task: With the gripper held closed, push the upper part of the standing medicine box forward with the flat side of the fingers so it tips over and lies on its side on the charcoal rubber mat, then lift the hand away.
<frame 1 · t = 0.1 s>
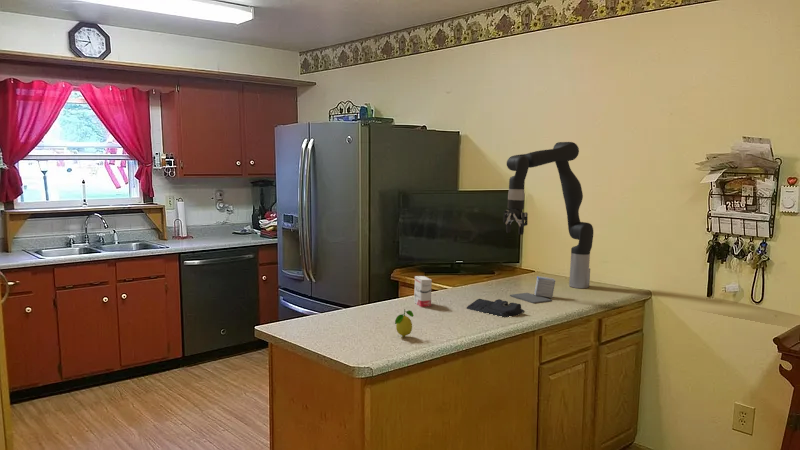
hand: (514, 233, 269), 29 cm above the counter, tool pointing down, fingers open, 8 cm apart
ink box: (422, 304, 249), on the counter
lemon: (404, 337, 201), on the counter
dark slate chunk: (495, 311, 242), on the counter
medicine box: (543, 296, 269), on the counter, touching mat
mat: (530, 298, 265), on the counter
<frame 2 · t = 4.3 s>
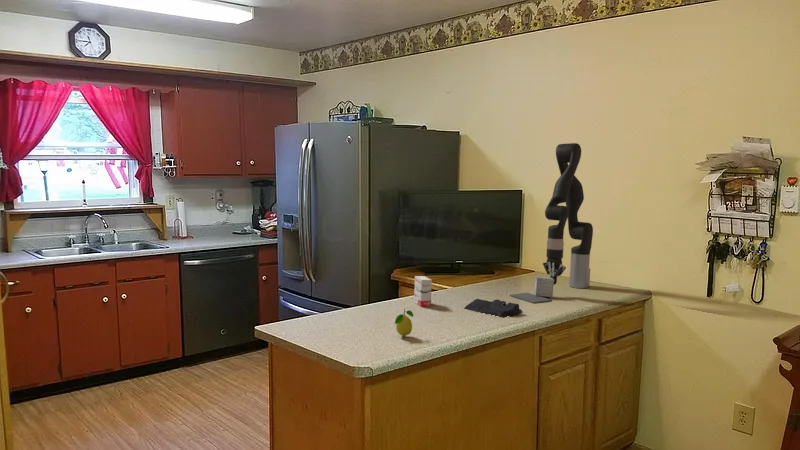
hand: (553, 284, 272), 6 cm above the counter, tool pointing down, fingers closed
medicine box: (543, 296, 269), on the counter, touching mat
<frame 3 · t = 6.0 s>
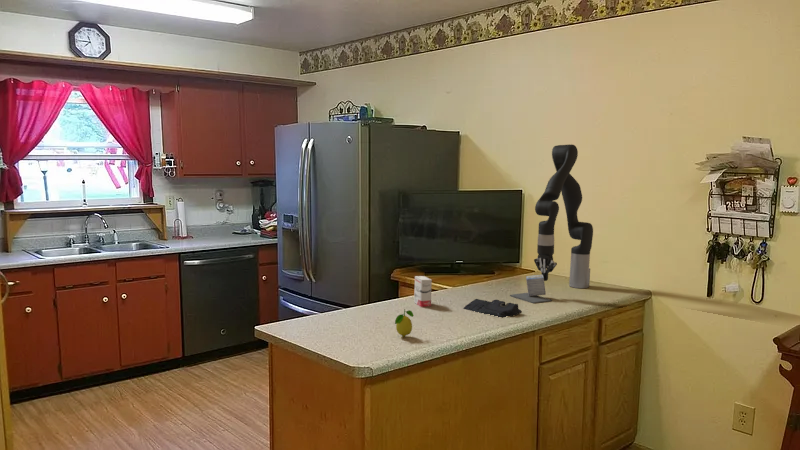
hand: (544, 280, 268), 8 cm above the counter, tool pointing down, fingers closed
medicine box: (537, 294, 268), point 1 cm above the counter, touching gripper, mat
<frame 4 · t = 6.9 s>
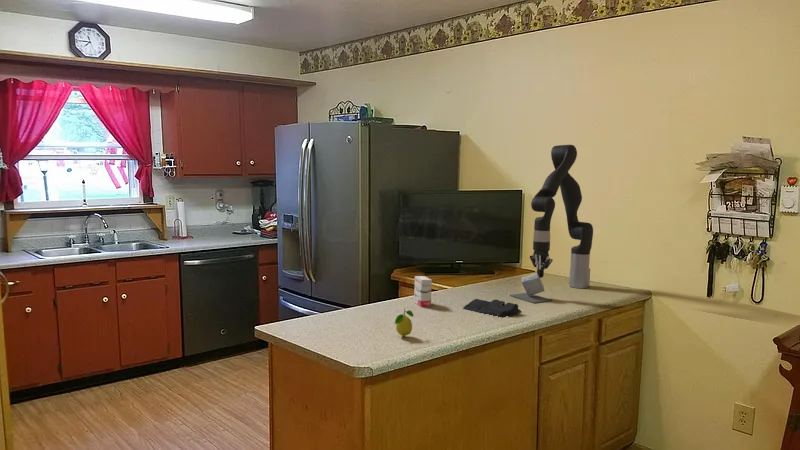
hand: (540, 277, 266), 10 cm above the counter, tool pointing down, fingers closed
medicine box: (536, 291, 267), point 3 cm above the counter, touching gripper, mat
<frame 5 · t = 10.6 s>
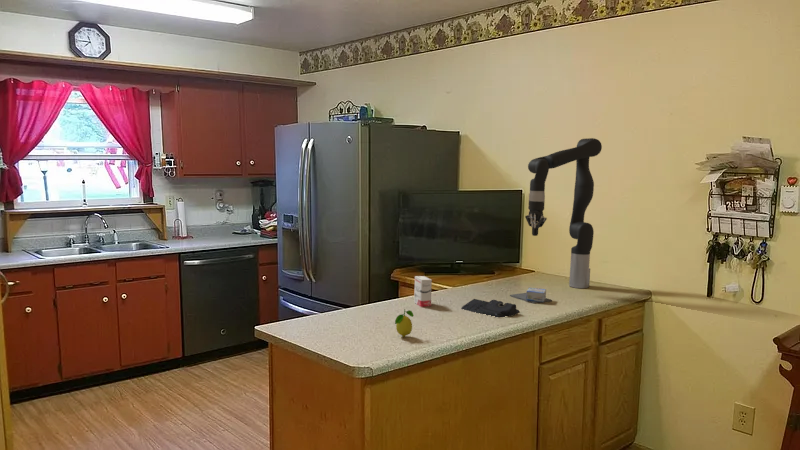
hand: (534, 235, 282), 27 cm above the counter, tool pointing down, fingers closed
medicine box: (537, 292, 265), point 3 cm above the counter, touching mat
at the end: medicine box tilted 89°; medicine box touching mat; medicine box inside the target area (2.3 cm from its centre), point 2.8 cm above the counter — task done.
